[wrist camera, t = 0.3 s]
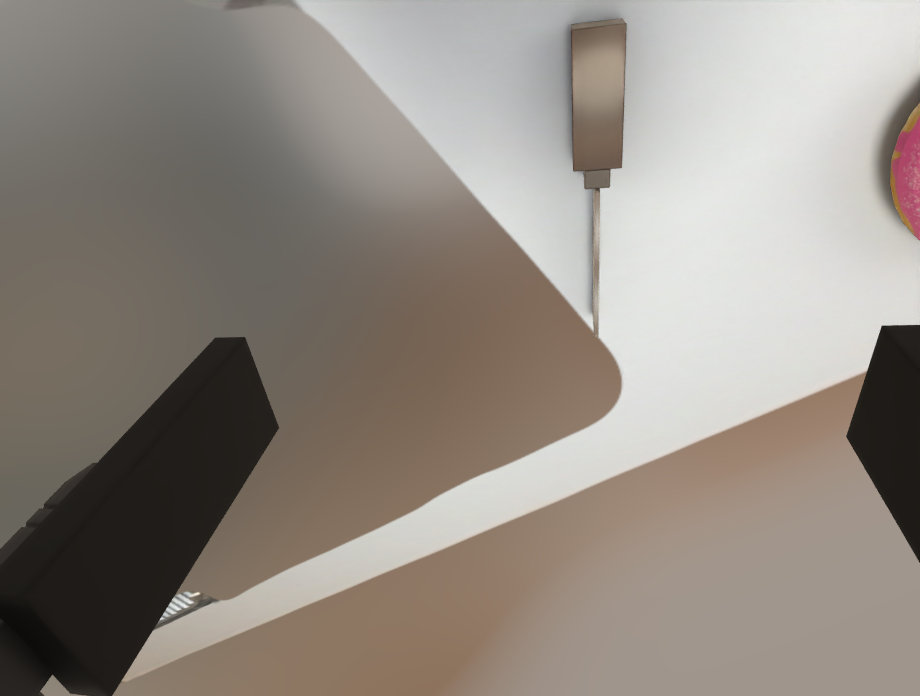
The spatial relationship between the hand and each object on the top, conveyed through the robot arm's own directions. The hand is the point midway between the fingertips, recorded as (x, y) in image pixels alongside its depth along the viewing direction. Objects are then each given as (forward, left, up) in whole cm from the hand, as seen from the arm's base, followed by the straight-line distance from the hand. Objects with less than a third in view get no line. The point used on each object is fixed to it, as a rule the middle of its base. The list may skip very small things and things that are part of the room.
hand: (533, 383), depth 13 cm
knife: (+6, +2, -30) cm, 31 cm away
